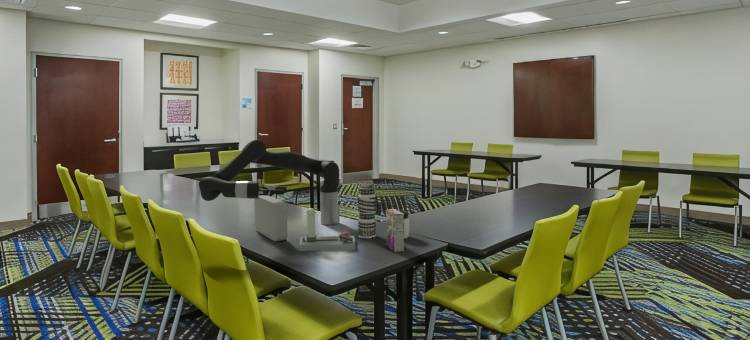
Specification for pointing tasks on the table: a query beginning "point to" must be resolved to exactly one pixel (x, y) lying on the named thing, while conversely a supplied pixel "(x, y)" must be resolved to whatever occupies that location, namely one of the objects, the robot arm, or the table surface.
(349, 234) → the button
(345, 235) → the rocker
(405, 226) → the jar
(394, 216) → the candy bar box
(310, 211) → the slide lever
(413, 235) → the table surface
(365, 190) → the decorative candle
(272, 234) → the rounded white slab
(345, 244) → the switch console
